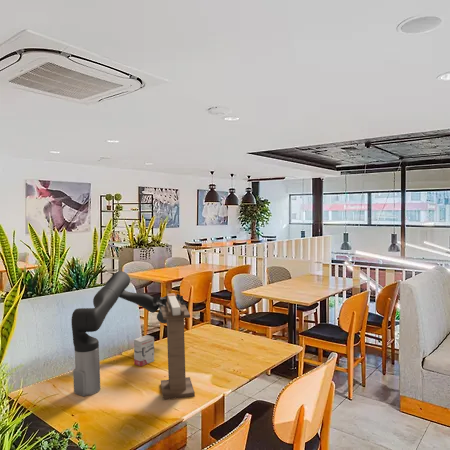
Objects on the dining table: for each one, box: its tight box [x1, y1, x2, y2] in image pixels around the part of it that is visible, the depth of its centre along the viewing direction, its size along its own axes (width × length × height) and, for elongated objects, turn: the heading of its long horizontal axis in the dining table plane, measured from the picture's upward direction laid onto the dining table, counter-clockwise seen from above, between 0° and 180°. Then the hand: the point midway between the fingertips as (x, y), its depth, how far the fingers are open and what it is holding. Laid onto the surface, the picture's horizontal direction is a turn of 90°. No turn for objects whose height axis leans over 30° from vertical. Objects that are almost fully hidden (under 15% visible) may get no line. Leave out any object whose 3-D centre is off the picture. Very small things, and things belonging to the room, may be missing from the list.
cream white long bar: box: [166, 292, 181, 316], centre depth 159 cm, size 24×3×3 cm, turn 13°
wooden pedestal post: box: [160, 301, 196, 401], centre depth 155 cm, size 16×12×34 cm
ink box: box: [133, 334, 155, 367], centre depth 184 cm, size 9×5×12 cm, turn 143°
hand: (168, 296), depth 182 cm, fingers open, 8 cm apart
